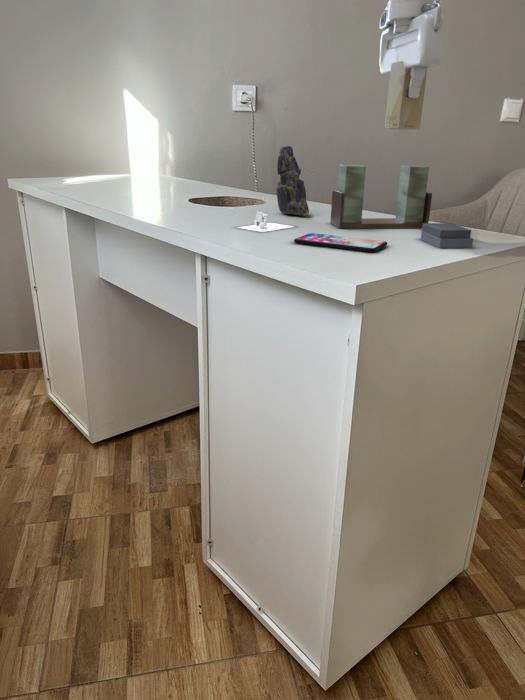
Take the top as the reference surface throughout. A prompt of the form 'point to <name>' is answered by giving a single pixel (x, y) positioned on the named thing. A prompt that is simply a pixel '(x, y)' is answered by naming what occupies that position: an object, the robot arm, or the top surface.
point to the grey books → (446, 235)
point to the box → (403, 100)
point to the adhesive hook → (264, 224)
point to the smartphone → (341, 242)
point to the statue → (290, 185)
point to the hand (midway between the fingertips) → (405, 99)
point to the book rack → (409, 204)
